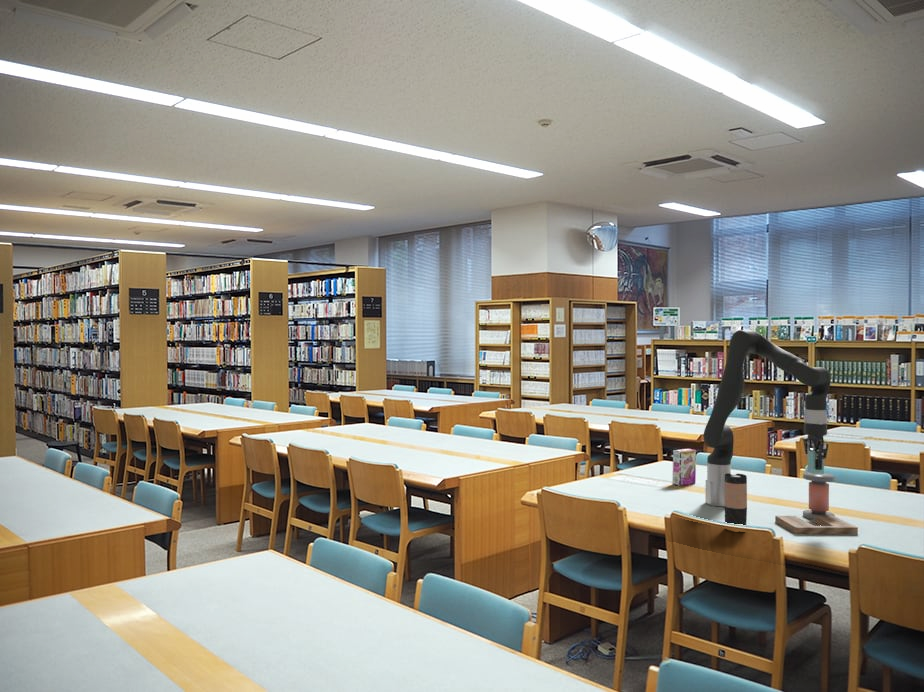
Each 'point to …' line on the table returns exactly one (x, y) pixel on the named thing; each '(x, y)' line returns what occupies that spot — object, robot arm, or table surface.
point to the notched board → (827, 526)
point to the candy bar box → (684, 467)
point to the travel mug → (735, 498)
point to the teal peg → (813, 463)
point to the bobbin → (818, 495)
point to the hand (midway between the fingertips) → (815, 468)
